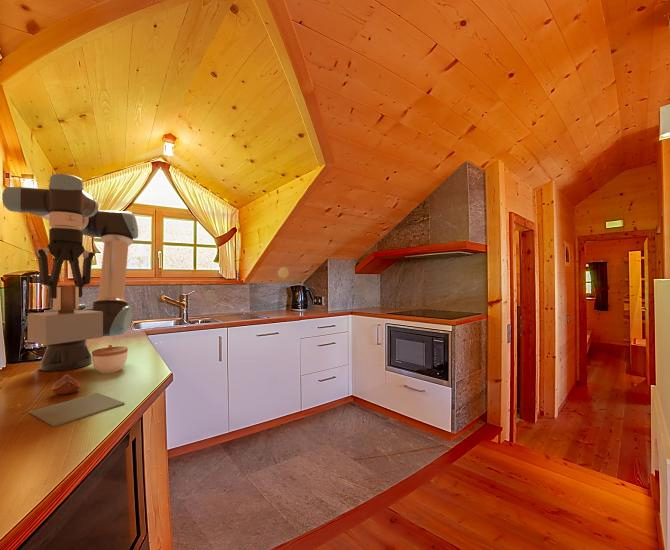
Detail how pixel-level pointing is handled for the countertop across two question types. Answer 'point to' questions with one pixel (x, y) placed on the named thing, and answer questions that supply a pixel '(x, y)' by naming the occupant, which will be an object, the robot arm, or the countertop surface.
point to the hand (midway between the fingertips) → (66, 309)
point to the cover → (65, 322)
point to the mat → (75, 409)
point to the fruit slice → (65, 385)
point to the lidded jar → (109, 359)
